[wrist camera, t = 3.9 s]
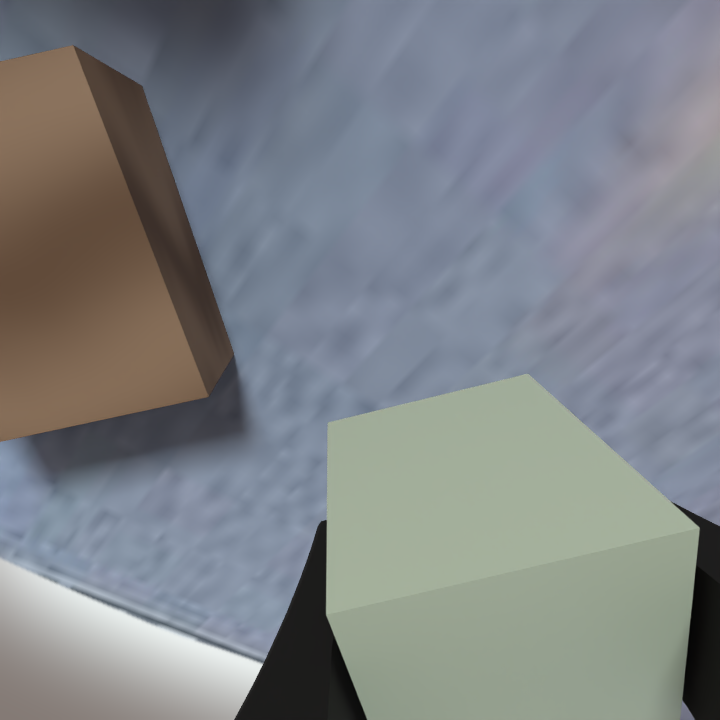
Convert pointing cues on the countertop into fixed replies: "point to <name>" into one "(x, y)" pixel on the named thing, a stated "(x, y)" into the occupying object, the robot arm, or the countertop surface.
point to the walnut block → (94, 254)
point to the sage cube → (503, 564)
